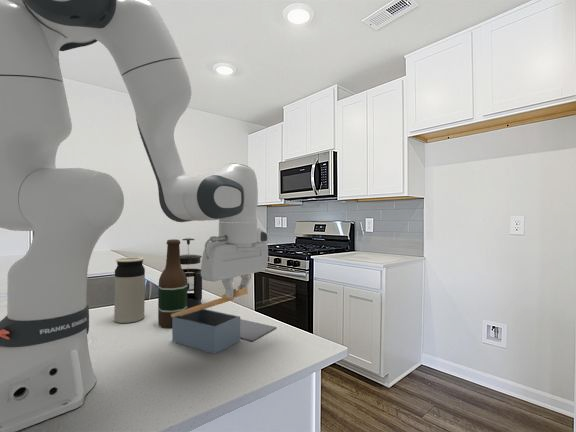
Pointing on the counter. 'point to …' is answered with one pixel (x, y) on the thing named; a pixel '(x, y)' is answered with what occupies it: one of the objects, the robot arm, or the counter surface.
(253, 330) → the mat
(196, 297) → the french press
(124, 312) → the travel mug
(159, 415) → the counter surface
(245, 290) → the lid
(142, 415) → the counter surface
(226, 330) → the tub
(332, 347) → the counter surface
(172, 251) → the beer bottle
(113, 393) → the counter surface
